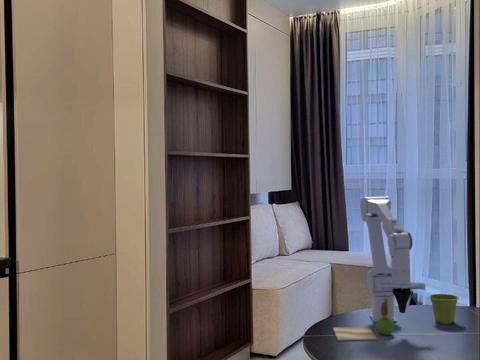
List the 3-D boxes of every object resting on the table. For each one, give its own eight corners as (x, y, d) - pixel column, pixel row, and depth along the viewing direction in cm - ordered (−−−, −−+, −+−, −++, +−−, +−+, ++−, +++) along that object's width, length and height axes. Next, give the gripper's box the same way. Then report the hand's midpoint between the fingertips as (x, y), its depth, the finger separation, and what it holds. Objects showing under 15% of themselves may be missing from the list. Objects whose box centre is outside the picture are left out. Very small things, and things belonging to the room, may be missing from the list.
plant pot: (462, 325, 172) (461, 299, 172) (432, 325, 174) (431, 299, 174) (456, 318, 181) (455, 294, 181) (428, 318, 183) (427, 293, 183)
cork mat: (333, 328, 173) (333, 327, 173) (369, 328, 173) (369, 326, 173) (338, 340, 160) (337, 339, 160) (377, 340, 159) (377, 339, 159)
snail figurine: (395, 332, 167) (394, 295, 167) (392, 337, 161) (391, 299, 161) (378, 330, 169) (377, 294, 170) (375, 336, 164) (373, 298, 164)
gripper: (380, 272, 162) (381, 315, 162) (427, 271, 161) (429, 315, 161) (376, 268, 169) (377, 310, 169) (421, 267, 168) (422, 309, 168)
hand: (402, 312), depth 165 cm, fingers closed
